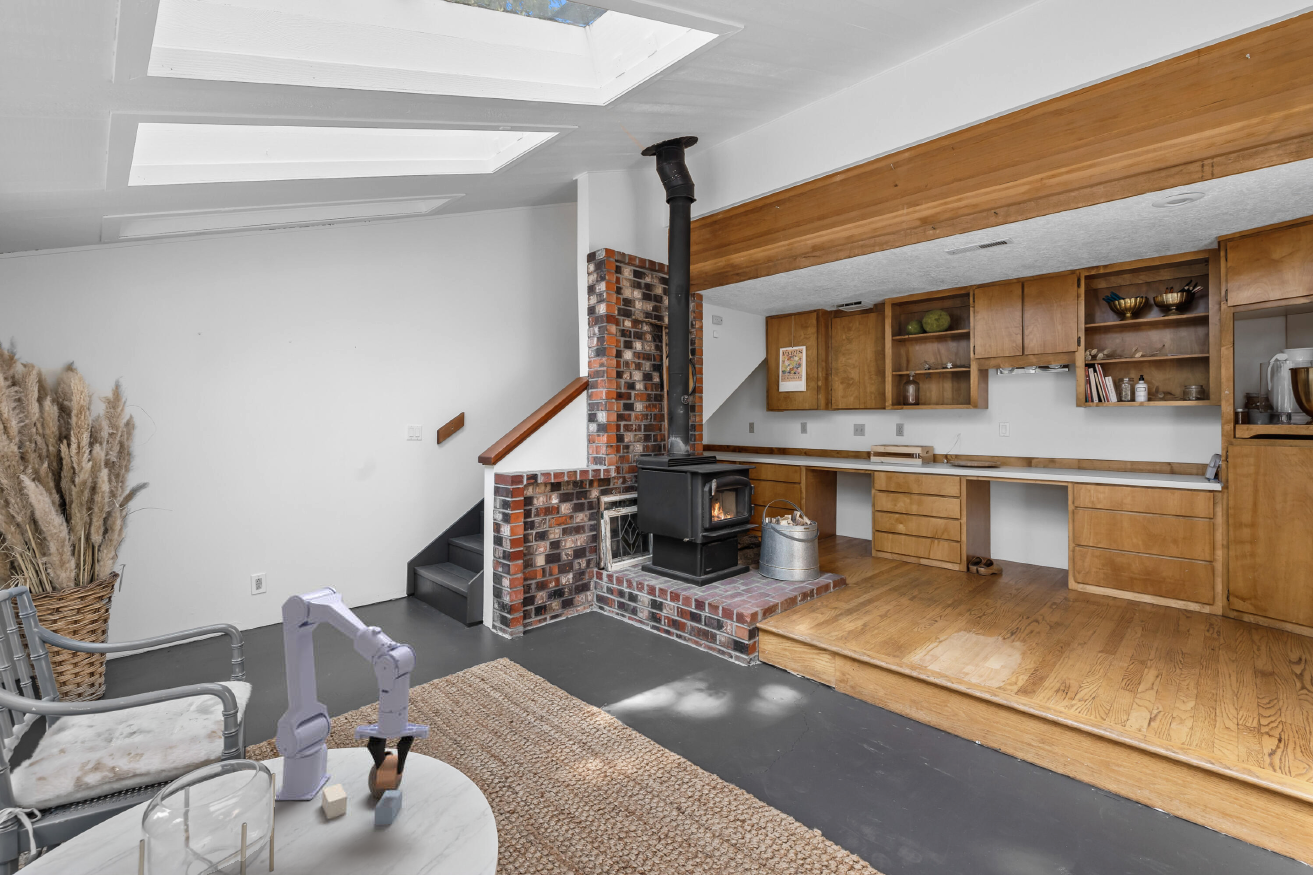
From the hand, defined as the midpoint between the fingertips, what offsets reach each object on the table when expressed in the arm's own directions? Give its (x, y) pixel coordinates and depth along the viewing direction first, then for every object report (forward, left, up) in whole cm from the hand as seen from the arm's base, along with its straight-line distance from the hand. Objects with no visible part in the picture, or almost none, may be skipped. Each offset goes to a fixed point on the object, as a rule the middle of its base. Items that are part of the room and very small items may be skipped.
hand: (390, 771), depth 123 cm
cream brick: (-2, -12, -9) cm, 15 cm away
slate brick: (0, 0, -9) cm, 9 cm away
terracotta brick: (0, 0, -2) cm, 2 cm away
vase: (-8, -4, -9) cm, 13 cm away
